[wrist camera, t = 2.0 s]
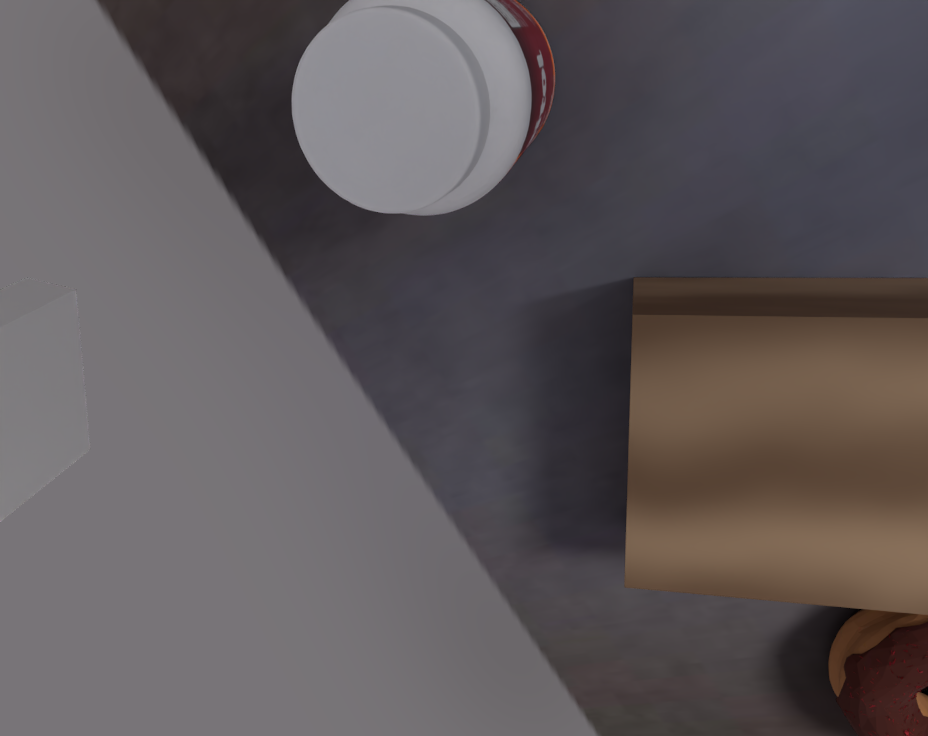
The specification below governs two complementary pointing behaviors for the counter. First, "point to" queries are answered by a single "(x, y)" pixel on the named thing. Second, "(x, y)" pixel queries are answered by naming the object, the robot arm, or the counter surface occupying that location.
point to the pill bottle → (421, 100)
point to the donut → (882, 672)
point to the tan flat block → (780, 440)
